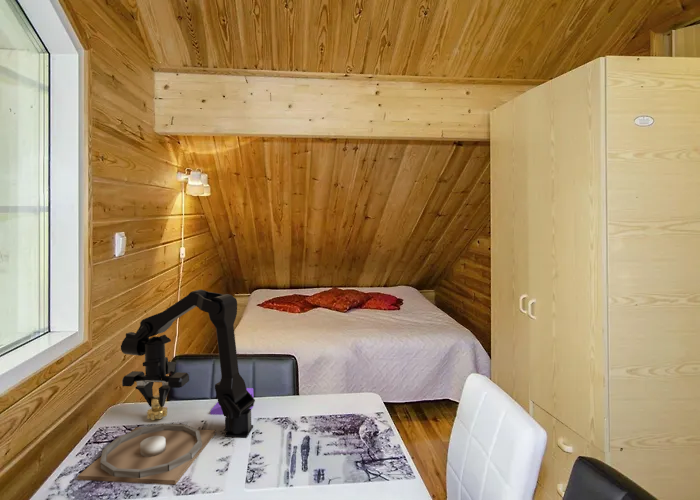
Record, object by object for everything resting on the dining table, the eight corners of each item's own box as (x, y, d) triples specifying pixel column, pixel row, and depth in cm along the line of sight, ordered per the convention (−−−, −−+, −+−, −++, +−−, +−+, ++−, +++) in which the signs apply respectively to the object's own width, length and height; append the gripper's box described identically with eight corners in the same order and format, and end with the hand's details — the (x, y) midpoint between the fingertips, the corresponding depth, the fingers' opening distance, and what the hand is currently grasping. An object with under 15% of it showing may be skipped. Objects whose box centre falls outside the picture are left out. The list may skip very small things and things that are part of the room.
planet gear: (170, 412, 137) (170, 393, 136) (161, 420, 131) (160, 401, 131) (153, 411, 137) (152, 393, 137) (143, 419, 131) (142, 400, 131)
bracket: (253, 406, 144) (253, 386, 143) (248, 416, 137) (247, 394, 136) (217, 406, 144) (217, 386, 144) (210, 415, 137) (209, 394, 137)
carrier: (215, 433, 125) (215, 421, 125) (175, 484, 101) (175, 470, 101) (135, 430, 127) (135, 418, 127) (78, 479, 103) (77, 465, 103)
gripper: (196, 349, 140) (197, 396, 141) (140, 348, 141) (142, 394, 143) (179, 360, 129) (181, 411, 130) (119, 359, 130) (122, 409, 131)
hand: (157, 406), depth 134 cm, fingers closed on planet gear, 3 cm apart
